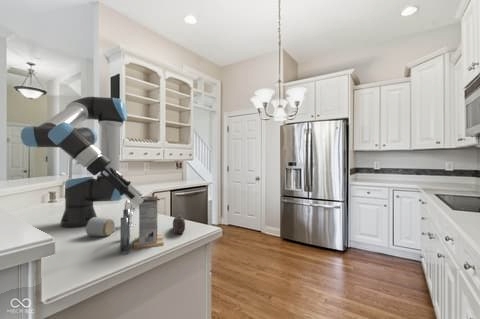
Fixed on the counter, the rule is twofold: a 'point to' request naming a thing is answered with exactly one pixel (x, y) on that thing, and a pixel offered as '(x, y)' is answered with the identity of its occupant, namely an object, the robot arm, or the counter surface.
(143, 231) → the coffee box
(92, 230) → the ceramic mug
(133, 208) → the wineglass
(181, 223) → the perforated stone tool
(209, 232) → the counter surface
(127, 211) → the metal drawer handle
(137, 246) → the oak trivet
